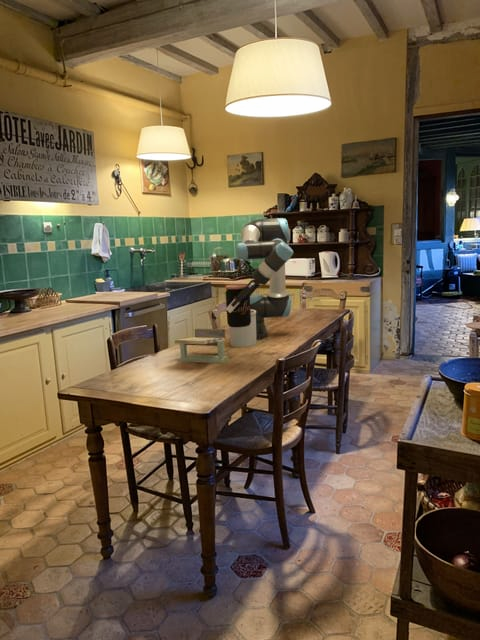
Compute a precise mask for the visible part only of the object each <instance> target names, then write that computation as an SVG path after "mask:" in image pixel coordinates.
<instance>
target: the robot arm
mask: <svg viewBox="0 0 480 640" xmlns="http://www.w3.org/2000/svg"><path fill="white" fill-rule="evenodd" d="M240 237H241V240H242V241H241V242H238V243H237V244H236V256H237V257H236V258H237V259H238V260H242V261H243V260H244V261H247V260H262V262H260V264H259V265H258V268H255V270H254V271H253V272H252V277H253V279H251V280H249V282H248V285H247V286H246V287H245V288H244V289H243V290H242V291H241V292H240V293H239V294H238V295H237V296H236V297H234V298H235V299H234V300H233V301H232V302H231V304H230V305H229V306H228V307H227V308H225V309H226V312H227V311H228V312H229V313H231V312H232V311H233V310H234V309H235V307H236V306H237V305H238V304H239V303H240V302H241V300H242V299H243V298H244V297H245V296H246V295H247V294H248V293H250V309H253V310H256V340H263V339H266V338H268V336H269V332H268V330H267V326H266V324H265V319H267V318H268V319H269V318H287V317H289V316H290V314H291V311H292V310H291V308H292V296H291V295H290V294H289V291H287V290H286V289H287V288H286V263H287V262H288V261H289V260H290V259H291V257H292V256H293V255H294V250H293V249H292V248H291V247H290V246H289V244H288V242H290V241H291V235H290V228H289V224H288V220H287V219H286V218H283V217H280V218H279V217H276V218H275V217H274V218H273V217H272V218H264V219H263V218H262V219H261V218H258V219H255V220H251V221H250V222H248V223H246V224H245V225H244V226H243V227H242V229H241V232H240ZM268 282H269V291H268V292H267V294H266V296H264V294H263V293H256V294H253V293H254V292H256V290H257V289H259V287H260V285H262V286H266V285H267V284H268Z"/></svg>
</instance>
